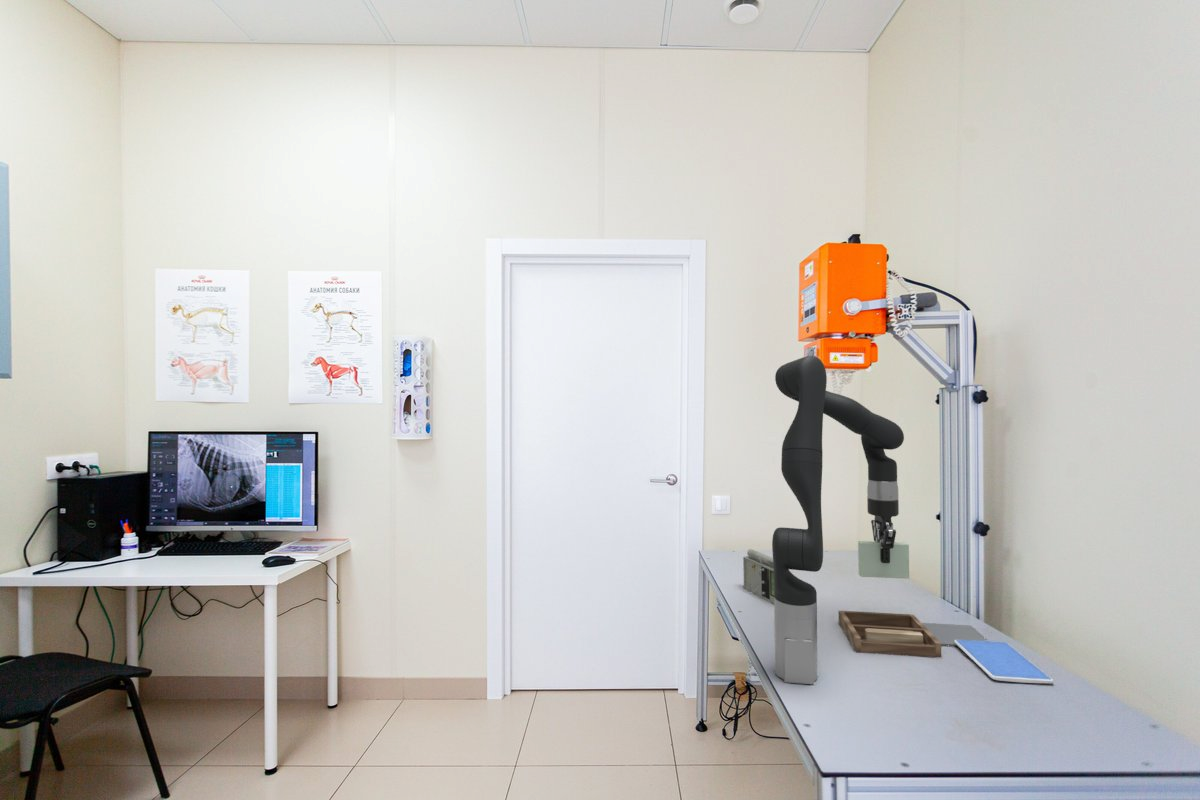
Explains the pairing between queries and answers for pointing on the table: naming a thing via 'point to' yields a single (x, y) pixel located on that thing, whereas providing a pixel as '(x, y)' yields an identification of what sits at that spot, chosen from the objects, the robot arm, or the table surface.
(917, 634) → the offcut stack
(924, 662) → the table surface
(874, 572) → the tall block
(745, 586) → the geiger counter
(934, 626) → the mat
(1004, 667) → the tablet computer
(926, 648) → the storage rack
